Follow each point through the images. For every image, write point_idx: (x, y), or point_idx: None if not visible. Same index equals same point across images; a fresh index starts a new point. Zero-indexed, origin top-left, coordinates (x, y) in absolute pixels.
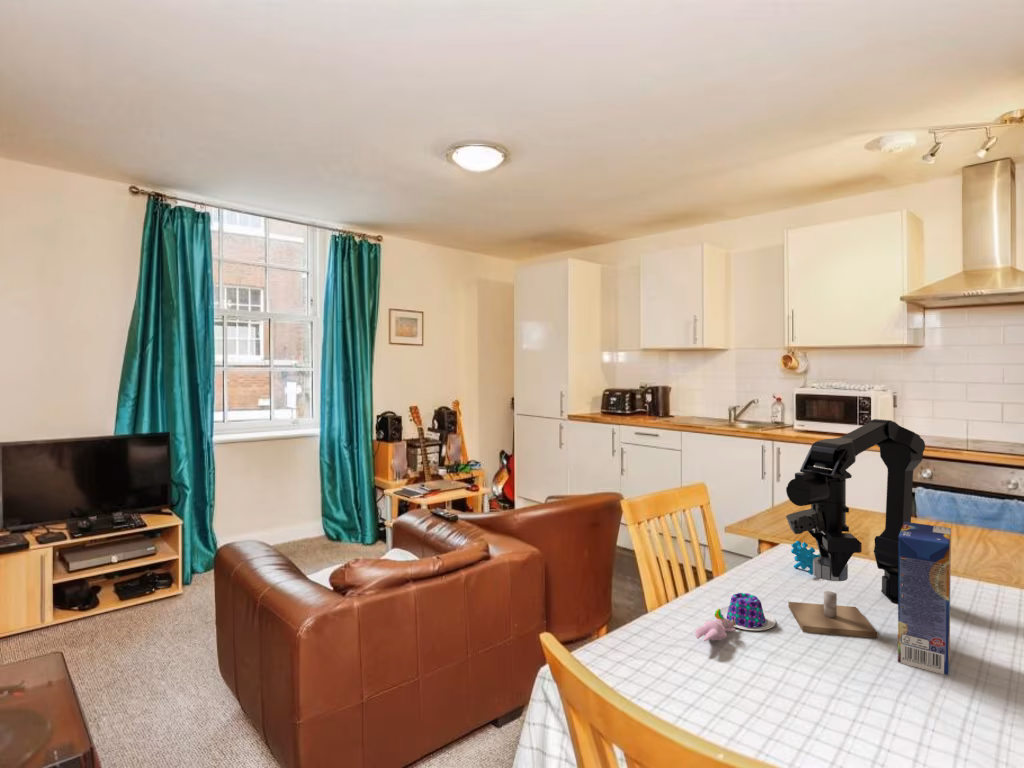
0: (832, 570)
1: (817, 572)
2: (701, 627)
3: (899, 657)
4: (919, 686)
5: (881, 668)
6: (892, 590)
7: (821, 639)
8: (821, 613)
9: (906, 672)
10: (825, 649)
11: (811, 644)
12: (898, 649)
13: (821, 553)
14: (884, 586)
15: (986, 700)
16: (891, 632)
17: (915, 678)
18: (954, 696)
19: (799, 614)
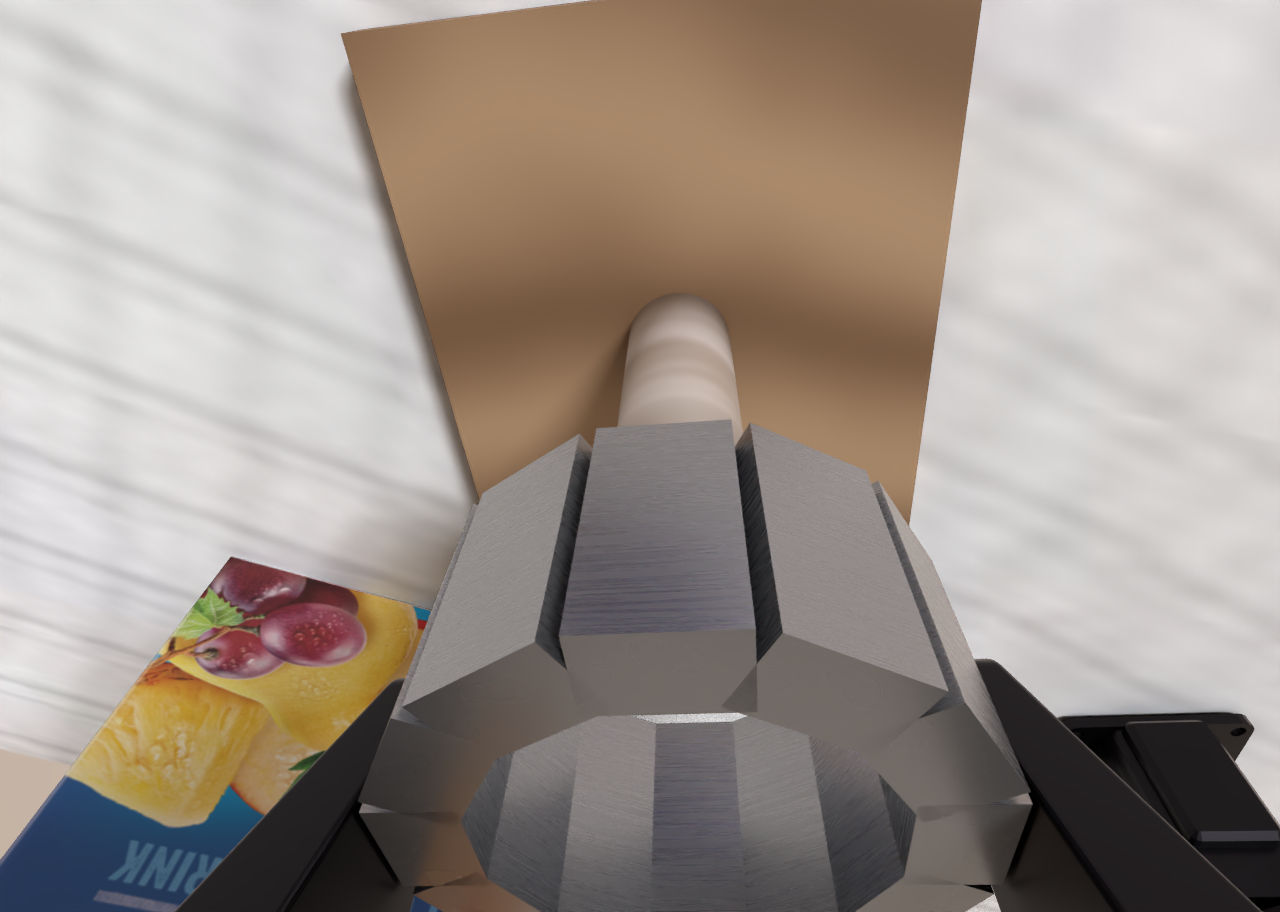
0: (307, 775)
1: (522, 511)
2: None
3: (215, 581)
4: (18, 571)
5: (87, 467)
6: (1132, 784)
7: (287, 183)
8: (715, 278)
9: (134, 560)
10: (114, 182)
11: (129, 74)
12: (191, 612)
13: (1088, 882)
14: (1189, 773)
15: (96, 728)
16: None
17: (95, 577)
18: (36, 656)
19: (625, 44)
